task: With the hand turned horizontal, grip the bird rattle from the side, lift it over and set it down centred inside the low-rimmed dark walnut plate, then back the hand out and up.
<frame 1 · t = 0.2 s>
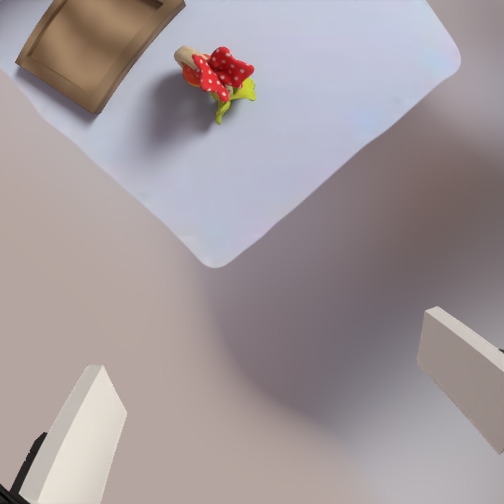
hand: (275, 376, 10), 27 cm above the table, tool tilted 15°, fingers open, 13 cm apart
walnut plate: (93, 30, 21), on the table
bird rattle: (211, 83, 27), on the table
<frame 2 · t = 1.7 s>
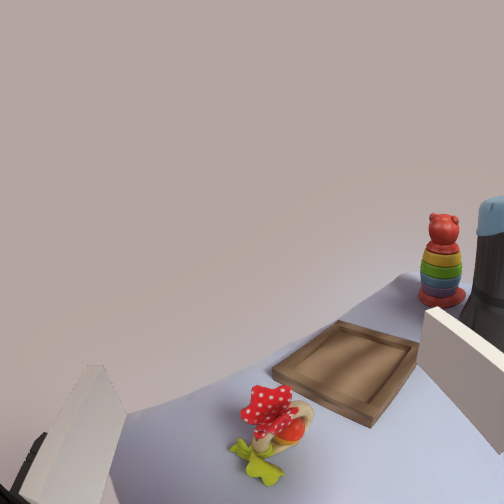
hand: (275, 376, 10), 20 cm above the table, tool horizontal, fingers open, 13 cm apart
stacking bear: (438, 299, 50), on the table
walnut plate: (352, 370, 36), on the table
bird rattle: (277, 456, 24), on the table
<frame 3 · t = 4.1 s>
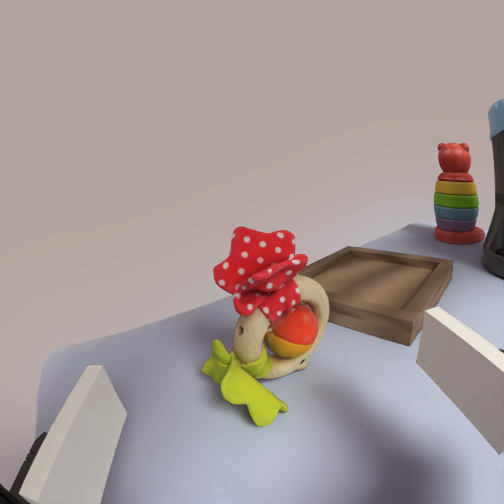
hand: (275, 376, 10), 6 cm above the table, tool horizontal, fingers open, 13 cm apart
stacking bear: (456, 238, 43), on the table
walnut plate: (371, 290, 30), on the table
bird rattle: (275, 386, 18), on the table
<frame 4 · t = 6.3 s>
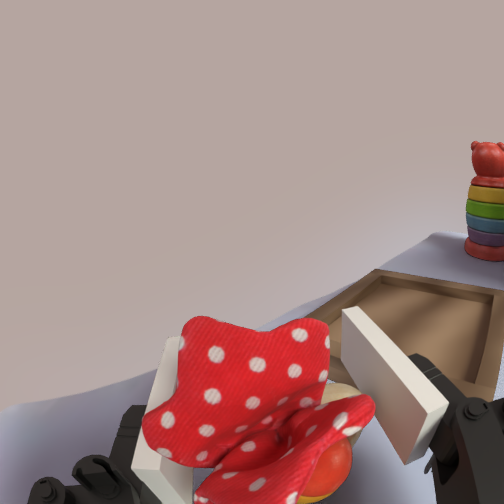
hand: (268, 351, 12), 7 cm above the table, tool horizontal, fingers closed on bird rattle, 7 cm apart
stacking bear: (489, 253, 34), on the table
walnut plate: (413, 336, 20), on the table
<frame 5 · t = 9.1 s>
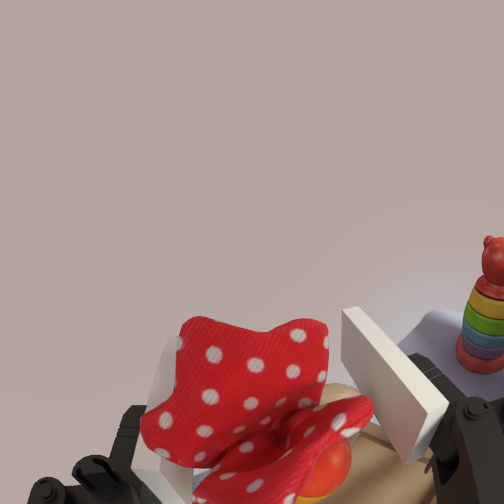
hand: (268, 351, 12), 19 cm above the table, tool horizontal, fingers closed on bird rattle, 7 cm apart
stacking bear: (481, 355, 29), on the table
walnut plate: (352, 502, 16), on the table
when the fingers open (9 cm above the table, at t = 11.8 s): bird rattle drops 1 cm, resting on walnut plate.
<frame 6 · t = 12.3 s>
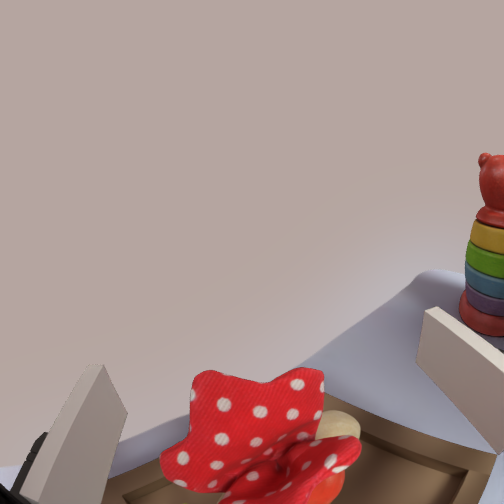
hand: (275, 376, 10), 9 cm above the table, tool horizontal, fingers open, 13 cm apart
stacking bear: (492, 317, 23), on the table
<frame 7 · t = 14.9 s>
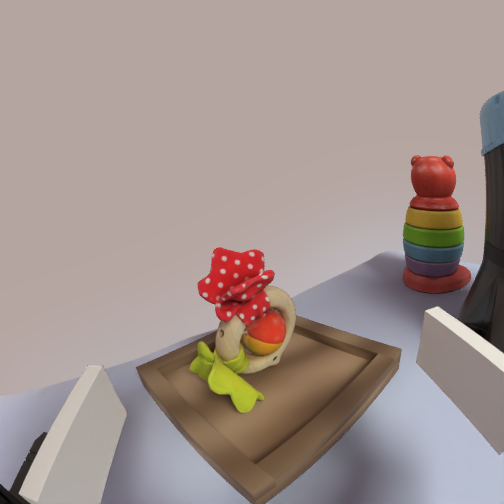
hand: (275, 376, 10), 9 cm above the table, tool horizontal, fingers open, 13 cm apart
stacking bear: (432, 281, 35), on the table
walnut plate: (266, 387, 22), on the table
bird rattle: (253, 380, 21), point 1 cm above the table, touching walnut plate
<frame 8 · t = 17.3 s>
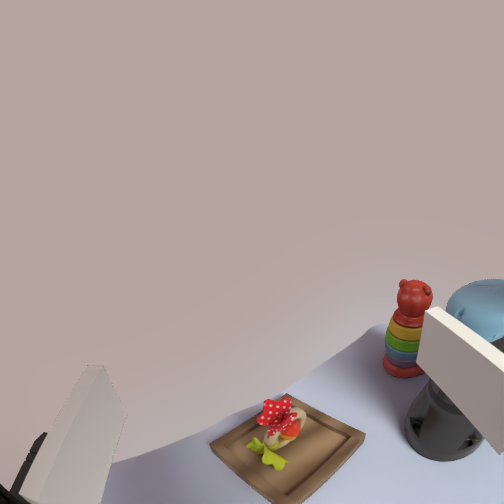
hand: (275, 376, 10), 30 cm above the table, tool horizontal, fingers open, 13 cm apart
stacking bear: (405, 364, 47), on the table
walnut plate: (288, 451, 34), on the table
bird rattle: (280, 449, 33), point 1 cm above the table, touching walnut plate
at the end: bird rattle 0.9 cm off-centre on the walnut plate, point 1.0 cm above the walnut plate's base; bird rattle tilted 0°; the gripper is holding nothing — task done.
